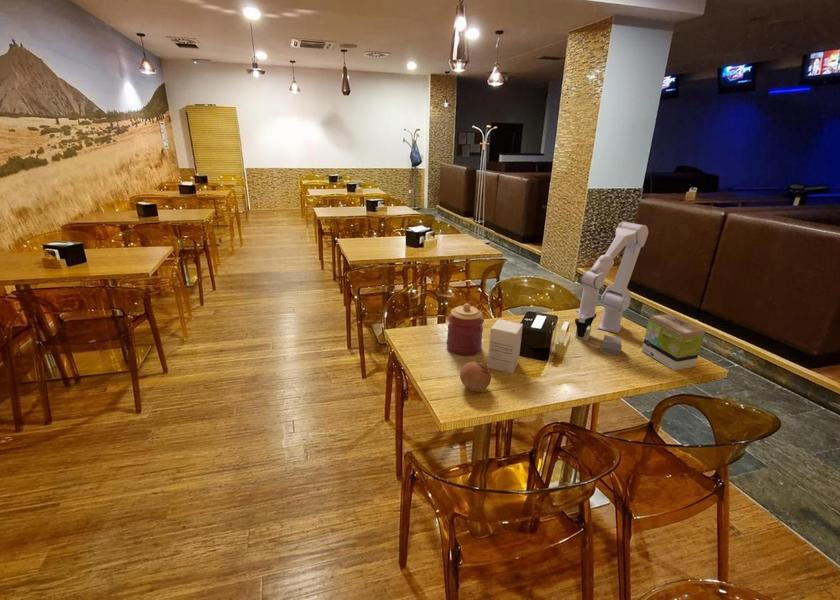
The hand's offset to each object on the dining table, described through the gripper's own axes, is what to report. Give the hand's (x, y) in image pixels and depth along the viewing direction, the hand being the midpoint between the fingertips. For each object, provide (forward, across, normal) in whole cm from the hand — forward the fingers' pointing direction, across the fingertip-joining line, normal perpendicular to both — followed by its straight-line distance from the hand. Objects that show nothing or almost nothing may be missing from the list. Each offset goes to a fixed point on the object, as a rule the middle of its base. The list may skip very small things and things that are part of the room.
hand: (583, 333), depth 168 cm
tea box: (+2, 0, +30) cm, 30 cm away
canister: (+2, +38, -33) cm, 50 cm away
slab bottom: (+2, +6, +12) cm, 13 cm away
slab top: (-1, +6, +12) cm, 13 cm away
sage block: (+2, 0, 0) cm, 2 cm away
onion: (+2, +60, -17) cm, 62 cm away
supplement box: (+2, +41, -16) cm, 44 cm away
